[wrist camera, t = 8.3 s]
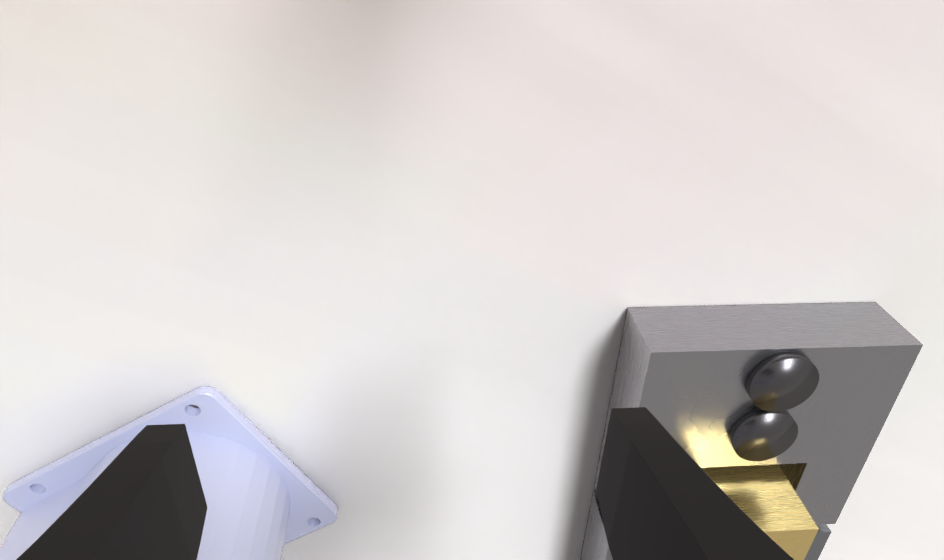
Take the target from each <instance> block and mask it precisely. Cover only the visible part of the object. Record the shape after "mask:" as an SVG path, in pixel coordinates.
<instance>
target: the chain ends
mask: <svg viewBox="0 0 944 560" xmlns="http://www.w3.org/2000/svg"><path fill="white" fill-rule="evenodd" d="M922 346H923V345H922V344H921V343H920V342H919V341H918V340H917V339H916V338H915V337H914V336H913V335H911V334H910V333H909V332H908V331H907V330H906V329H905V328H904V327H903V326H901V325H900V324H899V323H898V322H897V321H896V320H895V319H894V318H893V317H892V316H890V315H889V314H888V313H887V312H886V311H885V310H884V309H883V308H882V307H881V306H879V305H878V304H877V303H876V302H851V303H806V304H761V305H717V306H672V307H628V309H627V314H626V319H625V325H624V330H623V335H622V341H621V346H620V351H619V357H618V362H617V367H616V373H615V378H614V383H613V389H612V394H611V399H610V405H609V410H608V415H607V421H606V426H605V431H604V437H603V442H602V447H601V453H600V458H599V463H598V469H597V474H596V479H595V486H596V487H597V482H598V477H599V472H600V466H601V461H602V456H603V451H604V445H605V440H606V435H607V430H608V424H609V419H610V414H611V409H612V408H637V407H646V408H647V409H648V410H649V411H650V412H651V413H652V414H653V416H654V417H655V418H656V419H657V420H658V421H659V422H660V423H661V424H662V425H663V427H664V428H665V429H666V430H667V431H668V432H669V433H670V434H671V436H672V437H673V438H674V439H675V440H676V441H677V442H678V443H679V444H680V446H681V447H682V448H683V449H684V450H685V451H686V452H687V453H688V454H689V455H690V457H691V458H692V459H693V460H694V461H695V462H696V463H697V464H698V465H699V466H700V467H701V468H707V467H729V466H752V465H774V464H778V465H779V466H780V468H781V470H782V471H783V473H784V474H785V476H786V477H787V479H788V481H789V482H790V484H791V485H792V487H793V489H794V490H795V492H796V493H797V495H798V497H799V498H800V500H801V501H802V503H803V505H804V506H805V508H806V509H807V511H808V512H809V514H810V516H811V517H812V519H813V520H814V522H815V524H816V525H817V527H818V528H819V530H818V532H817V534H816V536H815V538H814V540H813V542H812V544H811V546H810V549H809V551H808V553H807V555H806V557H805V559H804V560H818V558H819V556H820V554H821V552H822V550H823V548H824V546H825V543H826V541H827V539H828V537H829V535H830V533H831V531H830V529H829V528H828V526H827V525H826V524H835V523H836V521H837V519H838V517H839V515H840V513H841V511H842V509H843V507H844V505H845V503H846V501H847V499H848V497H849V495H850V492H851V490H852V488H853V486H854V484H855V482H856V480H857V478H858V476H859V474H860V472H861V470H862V468H863V466H864V464H865V462H866V460H867V458H868V456H869V454H870V452H871V450H872V448H873V446H874V444H875V441H876V439H877V437H878V435H879V433H880V431H881V429H882V427H883V425H884V423H885V421H886V419H887V417H888V415H889V413H890V411H891V409H892V407H893V405H894V403H895V401H896V399H897V397H898V395H899V392H900V390H901V388H902V386H903V384H904V382H905V380H906V378H907V376H908V374H909V372H910V370H911V368H912V366H913V364H914V362H915V360H916V358H917V356H918V354H919V352H920V350H921V348H922ZM580 560H613V558H612V555H611V552H610V549H609V546H608V542H607V538H606V533H605V529H604V524H603V520H602V515H601V510H600V505H599V500H598V496H597V492H593V495H592V501H591V506H590V511H589V517H588V522H587V527H586V533H585V538H584V543H583V549H582V554H581V559H580Z"/></svg>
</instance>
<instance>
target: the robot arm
mask: <svg viewBox="0 0 944 560" xmlns="http://www.w3.org/2000/svg"><path fill="white" fill-rule="evenodd" d="M190 405H196V406H198V407H199V408H193V407H191V406H190ZM596 491H597V496H598V500H599V505H600V510H601V515H602V520H603V524H604V529H605V533H606V538H607V542H608V546H609V549H610V552H611V555H612V558H613V560H794V559H793V558H792V557H791V556H789V555H788V554H787V553H786V552H785V551H784V550H783V549H782V548H781V547H780V546H779V545H778V544H776V543H775V542H774V541H773V540H772V539H771V538H770V537H769V536H768V535H767V534H766V533H765V532H764V531H763V530H762V529H760V528H759V527H758V526H757V525H756V524H755V523H754V522H753V521H752V520H751V519H750V518H749V517H748V516H747V515H746V514H745V513H744V512H743V511H742V510H741V509H740V508H739V507H738V506H737V505H736V504H735V503H734V502H733V501H732V500H731V499H730V498H729V497H728V496H727V495H726V494H725V493H724V492H723V490H722V489H721V488H720V487H719V486H718V485H717V484H716V483H715V482H714V481H713V480H712V479H711V478H710V477H709V476H708V475H707V474H706V473H705V472H704V471H703V470H702V468H701V467H700V466H699V465H698V464H697V463H696V462H695V461H694V460H693V459H692V458H691V457H690V455H689V454H688V453H687V452H686V451H685V450H684V449H683V448H682V447H681V446H680V444H679V443H678V442H677V441H676V440H675V439H674V438H673V437H672V436H671V434H670V433H669V432H668V431H667V430H666V429H665V428H664V427H663V425H662V424H661V423H660V422H659V421H658V420H657V419H656V418H655V417H654V416H653V414H652V413H651V412H650V411H649V410H648V409H647V408H646V407H637V408H612V409H611V414H610V419H609V424H608V430H607V435H606V440H605V445H604V451H603V456H602V461H601V466H600V472H599V477H598V482H597V487H596ZM3 499H4V501H5V502H6V503H7V504H9V505H10V506H12V507H13V508H15V509H16V510H18V511H19V512H21V514H20V515H19V517H18V519H17V520H16V522H15V523H14V525H13V527H12V528H11V530H10V532H9V533H8V535H7V537H6V538H5V540H4V542H3V543H2V545H1V546H0V560H281V557H282V552H283V546H284V544H286V543H288V542H291V541H293V540H295V539H297V538H300V537H302V536H304V535H306V534H309V533H311V532H313V531H315V530H318V529H320V528H322V527H324V526H327V525H329V524H331V523H333V522H334V521H336V519H337V515H338V508H337V506H336V505H335V504H334V503H333V502H332V501H331V500H330V499H329V498H328V497H327V496H326V495H325V494H324V493H323V492H322V491H321V490H320V489H319V488H318V487H317V486H316V485H315V484H314V483H312V482H311V481H310V480H309V479H308V478H307V477H306V476H305V475H304V474H303V473H302V472H301V471H300V470H299V469H298V468H297V467H296V466H295V465H294V464H293V463H292V462H291V461H290V460H289V459H288V458H287V457H286V456H285V455H284V454H283V453H282V452H281V451H280V450H278V449H277V448H276V447H275V446H274V445H273V444H272V443H271V442H270V441H269V440H268V439H267V438H266V437H265V436H264V435H263V434H262V433H261V432H260V431H259V430H258V429H257V428H256V427H255V426H254V425H253V424H252V423H251V422H250V421H249V420H248V419H247V418H245V417H244V416H243V415H242V414H241V413H240V412H239V411H238V410H237V409H236V408H235V407H234V406H233V405H232V404H231V403H230V402H229V401H228V400H227V399H226V398H225V397H224V396H223V395H222V394H221V393H220V392H219V391H217V390H216V389H214V388H211V387H199V388H196V389H194V390H193V391H191V392H189V393H187V394H185V395H183V396H181V397H179V398H177V399H175V400H173V401H171V402H169V403H167V404H165V405H163V406H161V407H159V408H157V409H156V410H154V411H152V412H150V413H148V414H146V415H144V416H142V417H140V418H138V419H136V420H134V421H132V422H130V423H128V424H126V425H124V426H122V427H120V428H119V429H117V430H115V431H113V432H111V433H109V434H107V435H105V436H103V437H101V438H99V439H97V440H95V441H93V442H91V443H89V444H87V445H85V446H83V447H82V448H80V449H78V450H76V451H74V452H72V453H70V454H68V455H66V456H64V457H62V458H60V459H58V460H56V461H54V462H52V463H50V464H48V465H46V466H45V467H43V468H41V469H39V470H37V471H35V472H33V473H31V474H29V475H27V476H25V477H23V478H21V479H19V480H17V481H15V482H13V483H11V484H10V485H9V486H8V487H7V488H6V490H5V491H4V493H3Z"/></svg>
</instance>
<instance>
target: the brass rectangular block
mask: <svg viewBox="0 0 944 560" xmlns="http://www.w3.org/2000/svg"><path fill="white" fill-rule="evenodd" d="M702 470H703V471H704V472H705V473H706V474H707V475H708V476H709V477H710V478H711V479H712V480H713V481H714V482H715V483H716V484H717V485H718V486H719V487H720V488H721V489H722V490H723V492H724V493H725V494H726V495H727V496H728V497H729V498H730V499H731V500H732V501H733V502H734V503H735V504H736V505H737V506H738V507H739V508H740V509H741V510H742V511H743V512H744V513H745V514H746V515H747V516H748V517H749V518H750V519H751V520H752V521H753V522H754V523H755V524H756V525H757V526H758V527H759V528H760V529H762V530H763V531H764V532H765V533H766V534H767V535H768V536H769V537H770V538H771V539H772V540H773V541H774V542H775V543H776V544H778V545H779V546H780V547H781V548H782V549H783V550H784V551H785V552H786V553H787V554H788V555H789V556H791V557H792V558H793V559H794V560H804V559H805V557H806V555H807V553H808V551H809V549H810V546H811V544H812V542H813V540H814V538H815V536H816V534H817V532H818V530H819V528H818V527H817V525H816V524H815V522H814V520H813V519H812V517H811V516H810V514H809V512H808V511H807V509H806V508H805V506H804V505H803V503H802V501H801V500H800V498H799V497H798V495H797V493H796V492H795V490H794V489H793V487H792V485H791V484H790V482H789V481H788V479H787V477H786V476H785V474H784V473H783V471H782V470H781V468H780V466H779V465H778V464H774V465H752V466H729V467H707V468H702Z"/></svg>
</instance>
